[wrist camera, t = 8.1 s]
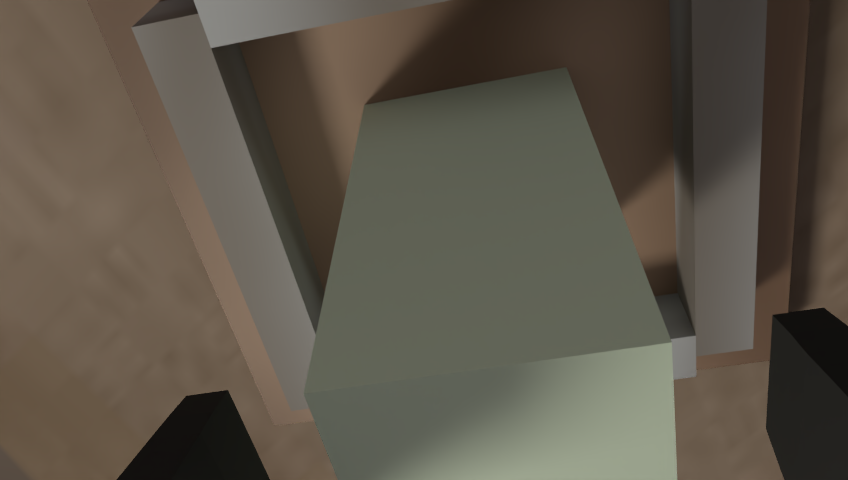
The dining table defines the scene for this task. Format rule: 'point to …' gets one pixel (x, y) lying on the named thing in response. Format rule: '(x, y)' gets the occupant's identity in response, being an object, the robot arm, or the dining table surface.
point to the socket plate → (456, 67)
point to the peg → (489, 300)
